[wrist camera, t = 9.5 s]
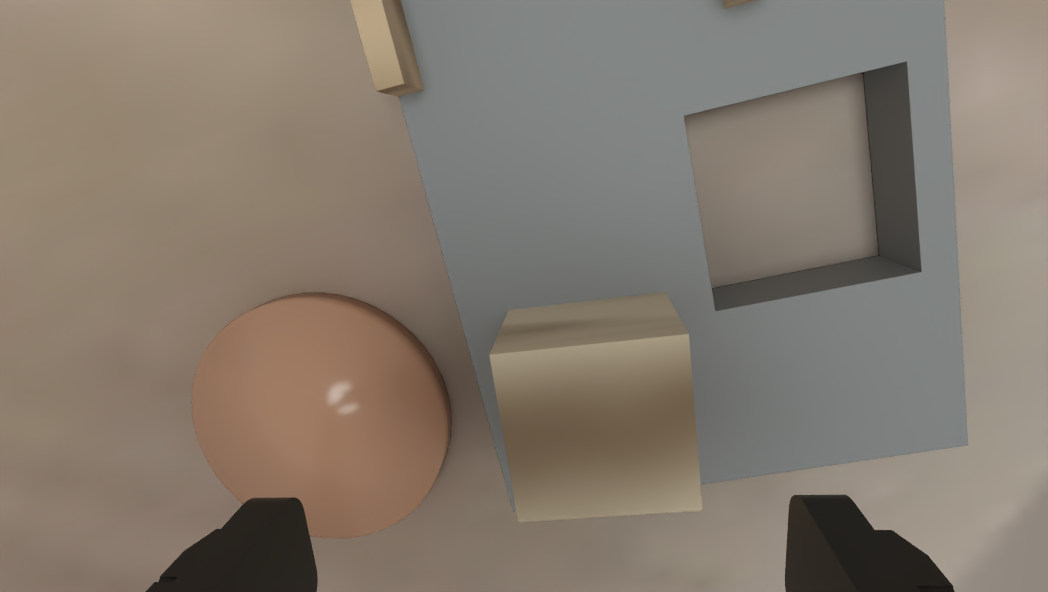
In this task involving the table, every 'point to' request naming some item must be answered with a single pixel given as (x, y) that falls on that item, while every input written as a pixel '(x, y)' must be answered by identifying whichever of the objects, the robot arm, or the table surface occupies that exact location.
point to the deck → (673, 214)
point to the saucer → (323, 412)
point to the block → (598, 409)
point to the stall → (399, 45)
